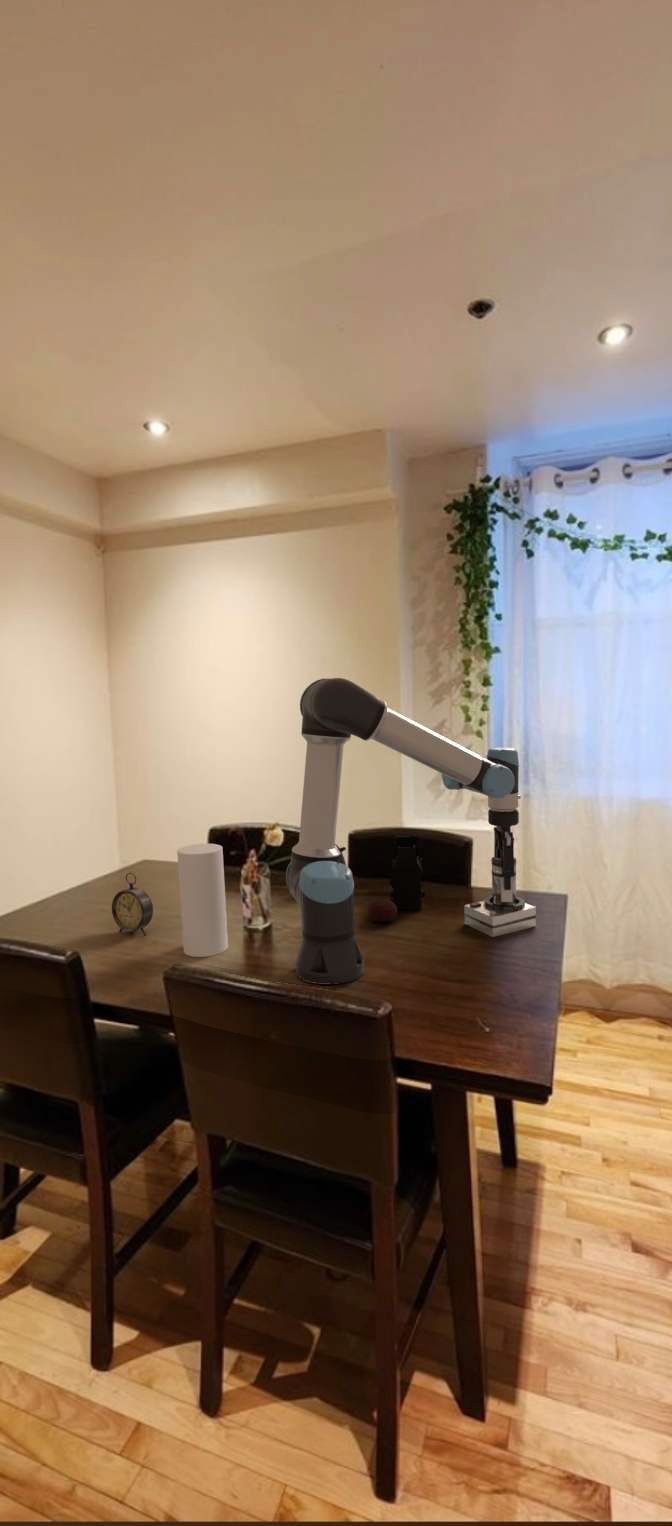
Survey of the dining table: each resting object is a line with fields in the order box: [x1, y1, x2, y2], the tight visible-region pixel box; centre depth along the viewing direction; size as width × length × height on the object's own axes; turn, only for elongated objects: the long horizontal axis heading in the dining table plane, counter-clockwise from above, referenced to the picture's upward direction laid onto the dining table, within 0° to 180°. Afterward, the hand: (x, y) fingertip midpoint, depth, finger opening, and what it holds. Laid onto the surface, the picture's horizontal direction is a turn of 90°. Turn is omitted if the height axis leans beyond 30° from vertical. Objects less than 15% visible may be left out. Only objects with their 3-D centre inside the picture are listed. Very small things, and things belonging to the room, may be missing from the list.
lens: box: [490, 856, 517, 905], centre depth 173 cm, size 6×6×12 cm
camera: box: [389, 834, 426, 910], centre depth 193 cm, size 10×14×20 cm
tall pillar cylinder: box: [176, 843, 229, 958], centre depth 164 cm, size 11×11×25 cm
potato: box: [367, 898, 398, 923], centre depth 179 cm, size 7×8×6 cm
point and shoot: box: [463, 895, 537, 938], centre depth 173 cm, size 14×11×6 cm
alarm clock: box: [111, 872, 154, 937], centre depth 177 cm, size 11×5×16 cm, turn 64°
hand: (504, 896), depth 173 cm, fingers closed on lens, 6 cm apart
